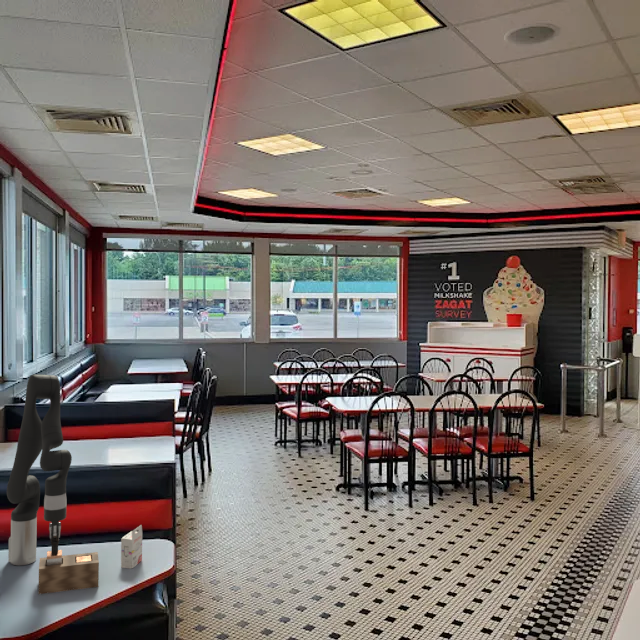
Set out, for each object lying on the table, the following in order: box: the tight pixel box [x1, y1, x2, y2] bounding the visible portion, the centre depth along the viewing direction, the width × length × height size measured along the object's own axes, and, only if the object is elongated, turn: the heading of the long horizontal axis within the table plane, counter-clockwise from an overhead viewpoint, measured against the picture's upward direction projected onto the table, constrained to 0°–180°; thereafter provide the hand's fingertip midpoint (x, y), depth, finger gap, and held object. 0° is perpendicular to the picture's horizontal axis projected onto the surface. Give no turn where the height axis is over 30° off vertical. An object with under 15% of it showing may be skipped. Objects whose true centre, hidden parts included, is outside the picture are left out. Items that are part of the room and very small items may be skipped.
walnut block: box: [37, 551, 100, 595], centre depth 241 cm, size 20×10×9 cm, turn 111°
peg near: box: [46, 549, 63, 566], centre depth 239 cm, size 5×5×9 cm
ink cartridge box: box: [120, 524, 143, 570], centre depth 260 cm, size 9×5×15 cm, turn 168°
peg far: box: [76, 556, 91, 563], centre depth 242 cm, size 5×5×9 cm
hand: (54, 553), depth 239 cm, fingers closed
